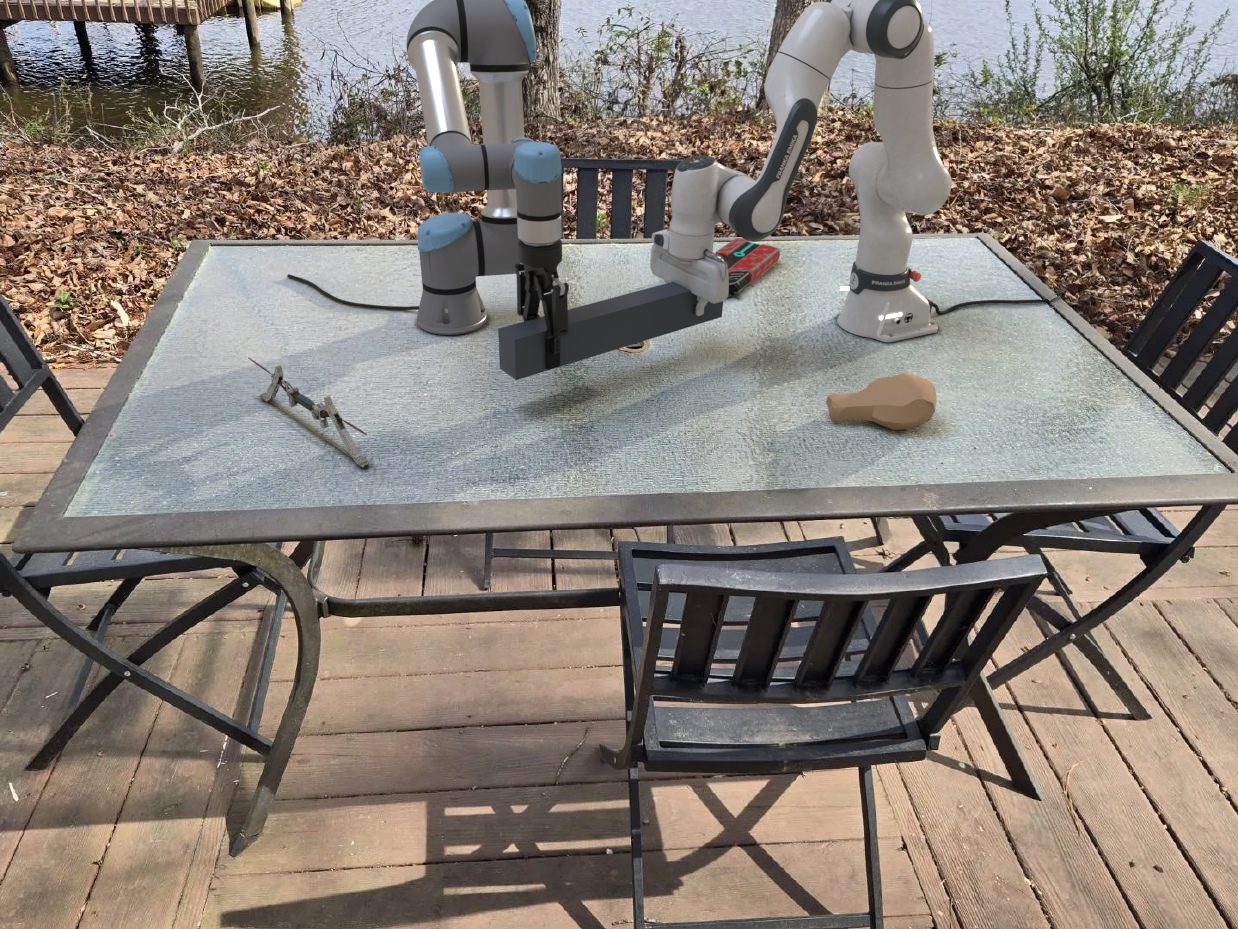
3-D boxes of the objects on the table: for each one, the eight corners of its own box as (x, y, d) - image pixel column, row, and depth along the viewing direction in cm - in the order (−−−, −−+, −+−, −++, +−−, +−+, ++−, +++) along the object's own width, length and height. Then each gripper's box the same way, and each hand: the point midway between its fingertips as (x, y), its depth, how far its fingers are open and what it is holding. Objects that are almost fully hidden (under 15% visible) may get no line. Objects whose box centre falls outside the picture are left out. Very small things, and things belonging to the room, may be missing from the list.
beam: (515, 380, 157) (514, 339, 153) (499, 368, 161) (497, 328, 156) (721, 317, 184) (725, 280, 179) (703, 307, 188) (707, 272, 183)
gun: (663, 267, 215) (734, 286, 207) (718, 230, 237) (784, 246, 229) (662, 284, 218) (732, 303, 210) (716, 246, 240) (782, 262, 232)
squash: (941, 436, 161) (948, 398, 155) (831, 444, 163) (834, 407, 157) (927, 398, 169) (933, 361, 163) (822, 407, 171) (824, 370, 164)
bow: (378, 470, 147) (371, 419, 141) (369, 475, 146) (361, 423, 140) (261, 391, 168) (250, 343, 163) (252, 394, 167) (241, 347, 162)
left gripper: (590, 250, 146) (589, 374, 159) (528, 220, 158) (532, 337, 171) (552, 259, 142) (555, 386, 155) (492, 228, 154) (499, 347, 167)
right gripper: (739, 255, 167) (732, 322, 175) (670, 226, 181) (666, 289, 188) (715, 262, 164) (709, 329, 172) (646, 231, 177) (643, 295, 185)
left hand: (543, 360), depth 163 cm, fingers closed on beam, 6 cm apart
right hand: (686, 308), depth 180 cm, fingers closed on beam, 5 cm apart
